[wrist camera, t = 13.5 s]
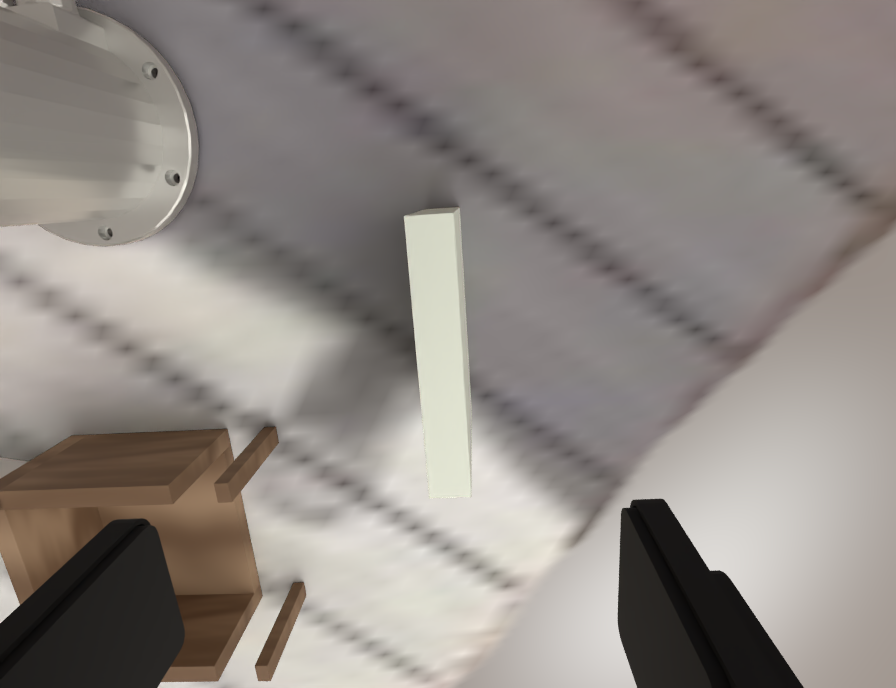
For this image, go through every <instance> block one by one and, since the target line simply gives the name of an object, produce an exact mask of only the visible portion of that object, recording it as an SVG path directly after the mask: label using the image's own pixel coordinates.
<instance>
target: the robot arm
mask: <svg viewBox="0 0 896 688" xmlns="http://www.w3.org/2000/svg"><path fill="white" fill-rule="evenodd" d="M15 1H16V5H17V6H14V4H13V0H0V227H7V226H21V225H35V224H38V225H39V226H41V227H42V228H43V229H45V230H46V231H49V232H51V233H53V234H55V235H57V236H59V237H61V238H63V239H66V240H69V241H73V242H76V243H80V244H84V245H92V246H104V247H106V246H115V245H124V244H128V243H133V242H137V241H141V240H144V239H146V238H148V237H150V236H152V235H154V234H156V233H158V232H159V231H161V230H162V229H163V228H164V227H166V226H167V225H168V224H169V223H171V222H172V221H173V220H174V218H175V217H176V216H177V215H178V213H179V212H180V211H181V210H182V208H183V207H184V205H185V203H186V201H187V199H188V197H189V195H190V193H191V191H192V189H193V185H194V181H195V178H196V174H197V170H198V156H199V143H198V134H197V125H196V122H195V118H194V115H193V111H192V107H191V104H190V101H189V99H188V97H187V95H186V93H185V91H184V88H183V86H182V84H181V82H180V80H179V79H178V77H177V76H176V74H175V73H174V71H173V70H172V68H171V67H170V65H169V64H168V62H167V61H166V60H165V59H164V58H163V57H162V56H161V54H160V53H159V52H158V51H157V50H156V49H155V48H154V47H153V46H152V45H151V44H150V43H149V42H148V41H147V40H145V39H144V38H143V37H141V36H140V35H139V34H137V33H136V32H135V31H133V30H132V29H131V28H129V27H127V26H125V25H123V24H121V23H120V22H118V21H116V20H114V19H112V18H110V17H108V16H105V15H103V14H100V13H98V12H95V11H93V10H90V9H88V8H82V7H77V6H76V2H75V0H15ZM157 71H158V75H157V77H156V72H157ZM178 175H179V176H180V182H179V181H178ZM618 594H619V595H618V627H619V633H620V638H621V641H622V644H623V647H624V650H625V653H626V656H627V659H628V662H629V665H630V668H631V670H632V673H633V676H634V679H635V682H636V685H637V688H803V686H802V684H801V683H800V682H799V680H798V679H797V677H796V676H795V674H794V673H793V671H792V670H791V668H790V667H789V665H788V664H787V662H786V661H785V659H784V658H783V656H782V655H781V653H780V652H779V650H778V649H777V647H776V646H775V645H774V643H773V642H772V640H771V639H770V637H769V636H768V634H767V633H766V631H765V630H764V628H763V627H762V625H761V624H760V622H759V621H758V619H757V618H756V616H755V615H754V613H753V612H752V611H751V609H750V608H749V606H748V605H747V603H746V602H745V600H744V599H743V597H742V596H741V594H740V593H739V591H738V590H737V588H736V587H735V585H734V584H733V583H732V581H731V580H730V578H729V577H728V576H727V575H726V574H725V573H724V572H722V571H710V570H709V569H708V567H707V566H706V564H705V563H704V561H703V559H702V558H701V556H700V555H699V553H698V552H697V550H696V548H695V547H694V545H693V544H692V542H691V541H690V539H689V538H688V536H687V535H686V533H685V531H684V530H683V528H682V527H681V525H680V523H679V522H678V520H677V519H676V517H675V515H674V514H673V512H672V511H671V510H670V508H669V506H668V504H667V503H666V502H665V500H663V499H643V500H633V501H632V502H631V506H630V508H623V509H622V511H621V535H620V565H619V593H618ZM184 638H185V629H184V625H183V621H182V617H181V614H180V610H179V606H178V603H177V599H176V595H175V592H174V588H173V585H172V581H171V577H170V574H169V570H168V566H167V563H166V559H165V555H164V552H163V548H162V545H161V541H160V537H159V534H158V531H157V528H156V527H155V526H152V525H151V524H150V522H149V521H148V520H147V519H143V518H139V519H117V520H113V521H111V522H110V523H108V524H107V525H106V526H105V527H104V528H103V529H102V530H101V531H100V532H99V533H98V534H97V535H95V536H94V537H93V538H92V539H91V540H90V541H89V542H88V543H87V544H86V545H85V546H84V547H83V548H81V549H80V550H79V551H78V552H77V553H76V554H75V555H74V556H73V557H72V558H71V559H70V560H68V561H67V562H66V563H65V564H64V565H63V566H62V567H61V568H60V569H59V570H58V571H57V572H56V573H54V574H53V575H52V576H51V577H50V578H49V579H48V580H47V581H46V582H45V583H44V584H43V585H41V586H40V587H39V588H38V589H37V590H36V591H35V592H34V593H33V594H32V595H31V596H30V597H29V598H27V599H26V600H25V601H24V602H23V603H22V604H21V605H20V606H19V607H18V608H17V609H16V610H14V611H13V612H12V613H11V614H10V615H9V616H8V617H7V618H6V619H5V620H4V621H3V622H2V623H0V688H157V687H158V686H159V684H160V682H161V681H162V679H163V678H164V676H165V674H166V673H167V671H168V670H169V668H170V666H171V665H172V663H173V662H174V660H175V658H176V657H177V655H178V654H179V652H180V650H181V648H182V646H183V643H184Z"/></svg>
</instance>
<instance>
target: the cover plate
mask: <svg viewBox="0 0 896 688" xmlns="http://www.w3.org/2000/svg"><path fill="white" fill-rule="evenodd" d="M404 223H405V234H406V245H407V256H408V267H409V279H410V290H411V301H412V312H413V323H414V335H415V346H416V357H417V368H418V379H419V391H420V402H421V413H422V424H423V435H424V447H425V458H426V469H427V480H428V491H429V499H432V498H463V497H471V461H472V408H471V391H470V374H469V357H468V340H467V323H466V306H465V289H464V272H463V255H462V238H461V221H460V207H450V208H435V209H425V210H422V211H419V212H415V213H412V214H409V215H406V216H404Z"/></svg>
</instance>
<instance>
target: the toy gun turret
mask: <svg viewBox="0 0 896 688" xmlns="http://www.w3.org/2000/svg"><path fill="white" fill-rule="evenodd" d="M27 462H29V461H22V460H15V459H9V458H2V457H0V478H2V477H4V476H5V475H7V474H9V473H10V472H12V471H14V470H15V469H17V468H19V467H20V466H22V465H24V464H25V463H27Z"/></svg>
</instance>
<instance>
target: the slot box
mask: <svg viewBox="0 0 896 688" xmlns="http://www.w3.org/2000/svg"><path fill="white" fill-rule="evenodd" d="M278 443H279V442H278V436H277V431H276V427H264V428H263V429H262V430H261V432H260V433H259V434H258V435H257V436H256V437H255V438H254V439H253V440H252V442H251V443H250V444H249V445H248V446H247V447H246V448H245V449H244V451H243V452H242V453H241V454H240V455H239V456H238V457H237V458H236V459H235V461H234V459H233V454H232V449H231V444H230V439H229V435H228V430H227V429H213V430H189V431H166V432H143V433H119V434H96V435H73V436H70V437H69V438H67V439H65V440H64V441H62V442H60V443H59V444H57V445H55V446H54V447H52V448H50V449H49V450H47V451H45V452H44V453H42V454H40V455H39V456H37V457H35V458H34V459H32V460H30V461H29V462H27V463H25V464H24V465H22V466H20V467H19V468H17V469H15V470H14V471H12V472H10V473H9V474H7V475H5V476H4V477H2V478H0V553H1V555H2V558H3V561H4V563H5V566H6V568H7V571H8V574H9V576H10V579H11V582H12V584H13V587H14V590H15V592H16V595H17V598H18V600H19V603H20V605H21V604H22V603H23V602H24V601H25V600H26V599H27V598H29V597H30V596H31V595H32V594H33V593H34V592H35V591H36V590H37V589H38V588H39V587H40V586H41V585H43V584H44V583H45V582H46V581H47V580H48V579H49V578H50V577H51V576H52V575H53V574H54V573H56V572H57V571H58V570H59V569H60V568H61V567H62V566H63V565H64V564H65V563H66V562H67V561H68V560H70V559H71V558H72V557H73V556H74V555H75V554H76V553H77V552H78V551H79V550H80V549H81V548H83V547H84V546H85V545H86V544H87V543H88V542H89V541H90V540H91V539H92V538H93V537H94V536H95V535H97V534H98V533H99V532H100V531H101V530H102V529H103V528H104V527H105V526H106V525H107V524H108V523H110V522H111V521H113V520H117V519H139V518H143V519H147V520H148V521H149V522H150V524H151V525H152V526H155V527H156V528H157V531H158V534H159V537H160V541H161V545H162V548H163V552H164V555H165V559H166V563H167V566H168V570H169V574H170V577H171V581H172V585H173V588H174V592H175V595H176V599H177V603H178V606H179V610H180V614H181V617H182V621H183V625H184V629H185V638H184V643H183V646H182V648H181V650H180V652H179V654H178V655H177V657H176V658H175V660H174V662H173V663H172V665H171V666H170V668H169V670H168V671H167V673H166V674H165V676H164V678H163V679H162V681H161V682H202V681H218V680H219V679H220V677H221V675H222V673H223V671H224V669H225V667H226V665H227V663H228V661H229V659H230V658H231V656H232V654H233V652H234V650H235V648H236V646H237V644H238V642H239V640H240V638H241V637H242V635H243V633H244V631H245V629H246V627H247V625H248V623H249V621H250V619H251V617H252V616H253V614H254V612H255V610H256V608H257V606H258V604H259V602H260V600H261V598H262V592H261V587H260V582H259V577H258V573H257V568H256V563H255V558H254V554H253V549H252V544H251V539H250V535H249V530H248V525H247V520H246V516H245V511H244V506H243V501H242V497H241V490H242V489H243V488H244V486H245V485H246V484H247V483H248V481H249V480H250V479H251V477H252V476H253V475H254V474H255V472H256V471H257V470H258V469H259V467H260V466H261V465H262V463H263V462H264V461H265V460H266V458H267V457H268V456H269V454H270V453H271V452H272V451H273V449H274V448H275V447H276V446H277V444H278ZM305 597H306V592H305V586H304V583H293V585H292V587H291V589H290V591H289V593H288V596H287V598H286V600H285V602H284V604H283V606H282V609H281V611H280V613H279V615H278V617H277V619H276V621H275V624H274V626H273V628H272V630H271V632H270V634H269V637H268V639H267V641H266V643H265V645H264V647H263V650H262V652H261V654H260V656H259V658H258V660H257V663H256V665H255V669H256V673H257V678H258V681H271V679H272V677H273V674H274V672H275V669H276V667H277V665H278V662H279V660H280V657H281V655H282V653H283V650H284V648H285V645H286V643H287V641H288V638H289V636H290V633H291V631H292V629H293V626H294V624H295V621H296V619H297V617H298V614H299V612H300V609H301V607H302V605H303V602H304V600H305Z"/></svg>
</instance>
